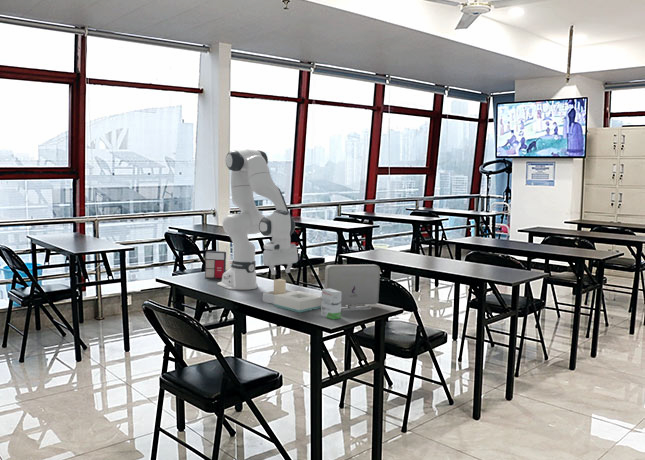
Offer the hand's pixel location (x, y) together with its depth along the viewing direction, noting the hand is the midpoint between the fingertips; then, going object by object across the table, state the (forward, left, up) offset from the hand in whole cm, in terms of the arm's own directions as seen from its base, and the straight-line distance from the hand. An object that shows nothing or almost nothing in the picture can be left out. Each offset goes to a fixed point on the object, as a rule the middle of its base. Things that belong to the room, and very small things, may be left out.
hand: (280, 273), depth 283 cm
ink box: (+36, -5, -13) cm, 39 cm away
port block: (+14, -2, -13) cm, 20 cm away
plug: (-1, 0, -13) cm, 13 cm away
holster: (-1, 0, -13) cm, 13 cm away
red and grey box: (-65, +12, -13) cm, 67 cm away
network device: (+31, +16, -13) cm, 37 cm away
